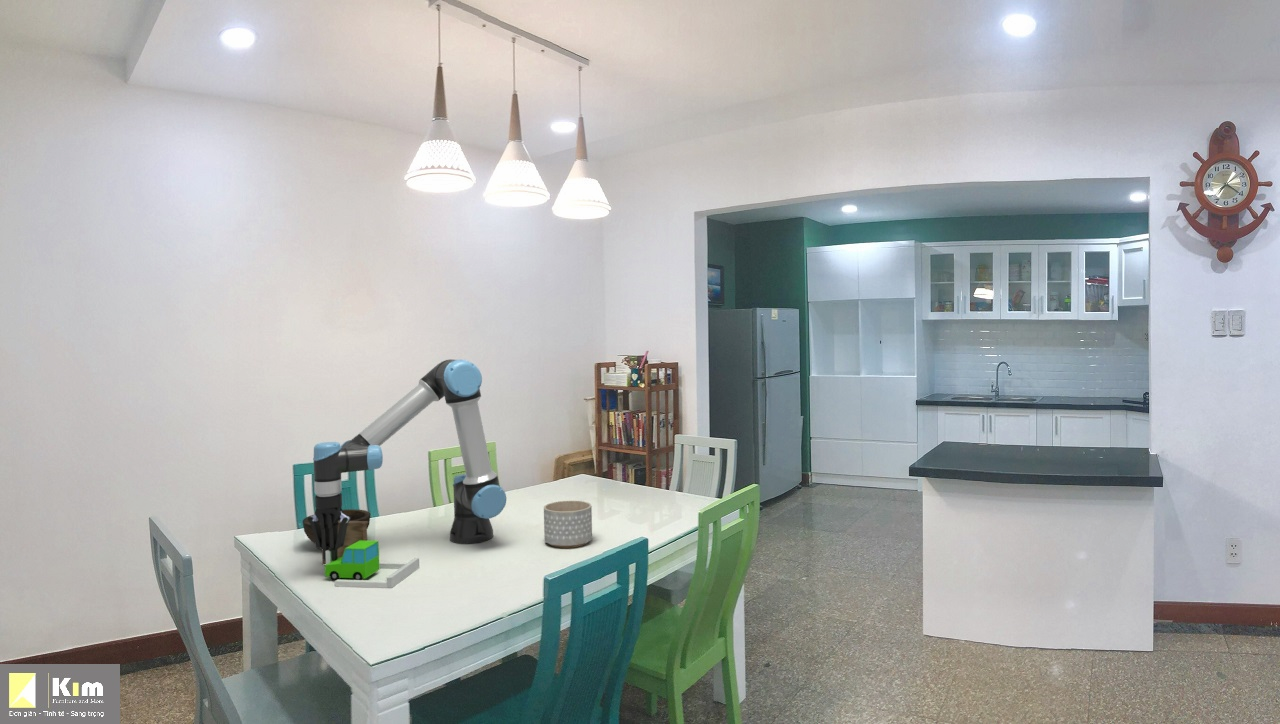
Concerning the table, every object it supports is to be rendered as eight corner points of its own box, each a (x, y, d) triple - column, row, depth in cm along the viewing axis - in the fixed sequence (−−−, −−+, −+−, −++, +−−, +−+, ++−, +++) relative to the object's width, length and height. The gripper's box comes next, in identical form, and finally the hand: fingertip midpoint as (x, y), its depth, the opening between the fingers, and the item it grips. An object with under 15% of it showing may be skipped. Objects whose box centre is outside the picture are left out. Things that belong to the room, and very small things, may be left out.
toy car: (341, 570, 220) (340, 538, 220) (381, 572, 218) (380, 539, 218) (321, 582, 210) (320, 548, 210) (363, 583, 208) (362, 549, 208)
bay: (419, 567, 222) (419, 558, 222) (391, 588, 204) (391, 577, 204) (366, 566, 224) (366, 556, 224) (334, 586, 206) (334, 576, 206)
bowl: (304, 558, 233) (303, 528, 233) (302, 542, 253) (301, 514, 252) (375, 548, 243) (374, 519, 243) (367, 533, 263) (366, 506, 262)
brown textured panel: (369, 563, 227) (368, 521, 227) (364, 566, 224) (363, 523, 224) (326, 562, 229) (324, 520, 229) (321, 565, 226) (319, 522, 226)
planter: (602, 541, 247) (601, 505, 246) (566, 552, 235) (565, 514, 234) (570, 533, 258) (569, 498, 257) (534, 543, 246) (533, 506, 245)
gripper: (355, 491, 218) (357, 567, 219) (315, 490, 220) (318, 566, 221) (341, 496, 211) (344, 575, 212) (300, 496, 212) (303, 574, 213)
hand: (330, 570), depth 216 cm, fingers closed
